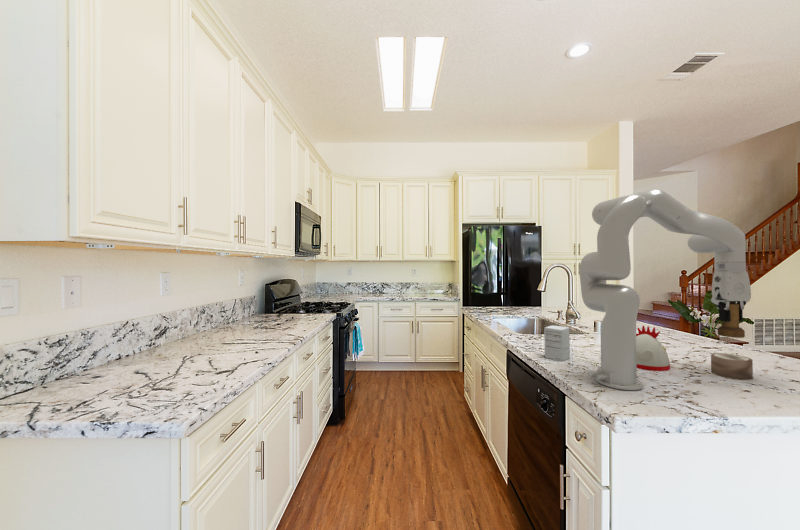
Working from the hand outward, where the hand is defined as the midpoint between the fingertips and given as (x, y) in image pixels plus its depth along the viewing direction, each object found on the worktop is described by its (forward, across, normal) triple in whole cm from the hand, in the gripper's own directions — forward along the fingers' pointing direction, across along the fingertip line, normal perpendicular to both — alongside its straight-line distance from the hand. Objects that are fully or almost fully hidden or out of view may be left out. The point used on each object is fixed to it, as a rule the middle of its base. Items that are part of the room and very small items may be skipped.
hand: (730, 320), depth 112 cm
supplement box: (+19, -46, +28) cm, 57 cm away
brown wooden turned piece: (+5, 0, 0) cm, 5 cm away
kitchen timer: (+19, -19, +14) cm, 30 cm away
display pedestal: (+19, 0, 0) cm, 19 cm away
